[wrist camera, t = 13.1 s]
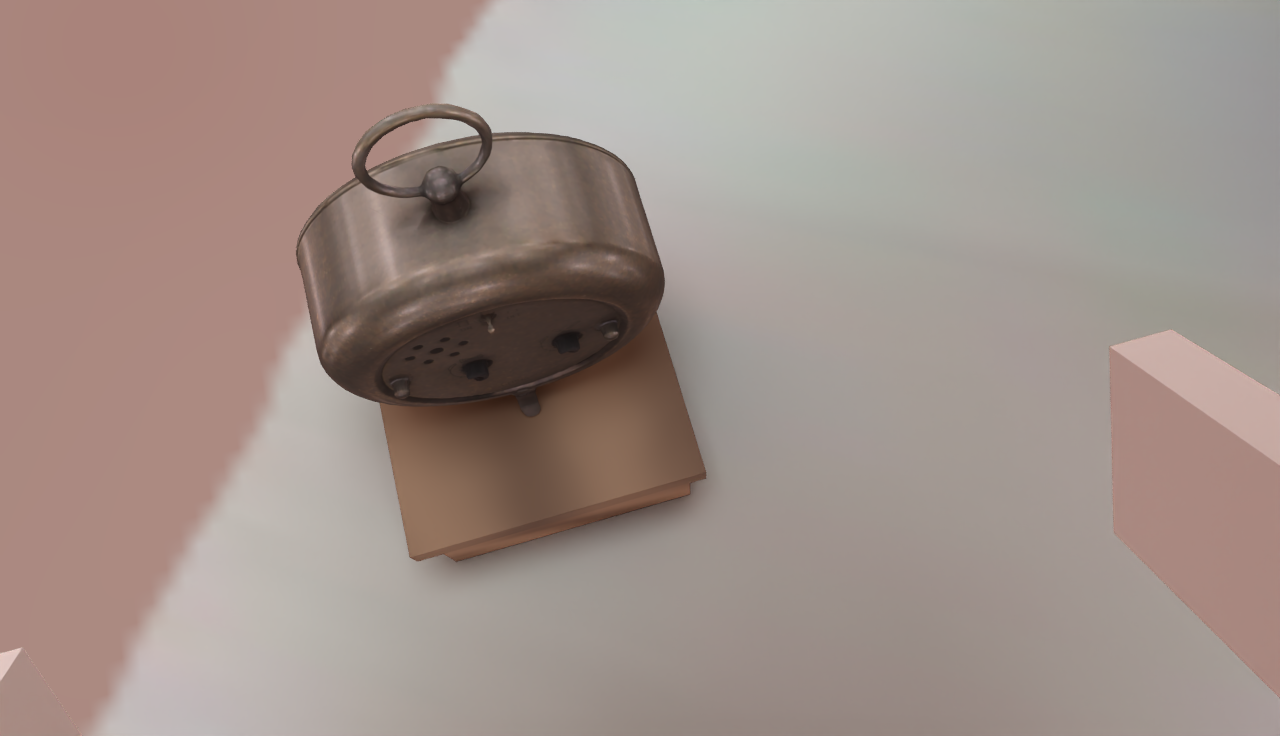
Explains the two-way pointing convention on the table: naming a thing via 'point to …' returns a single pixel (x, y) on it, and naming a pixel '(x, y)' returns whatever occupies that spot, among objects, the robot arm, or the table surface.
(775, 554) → the table surface
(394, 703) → the table surface
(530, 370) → the alarm clock
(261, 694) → the table surface
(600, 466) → the walnut stand
